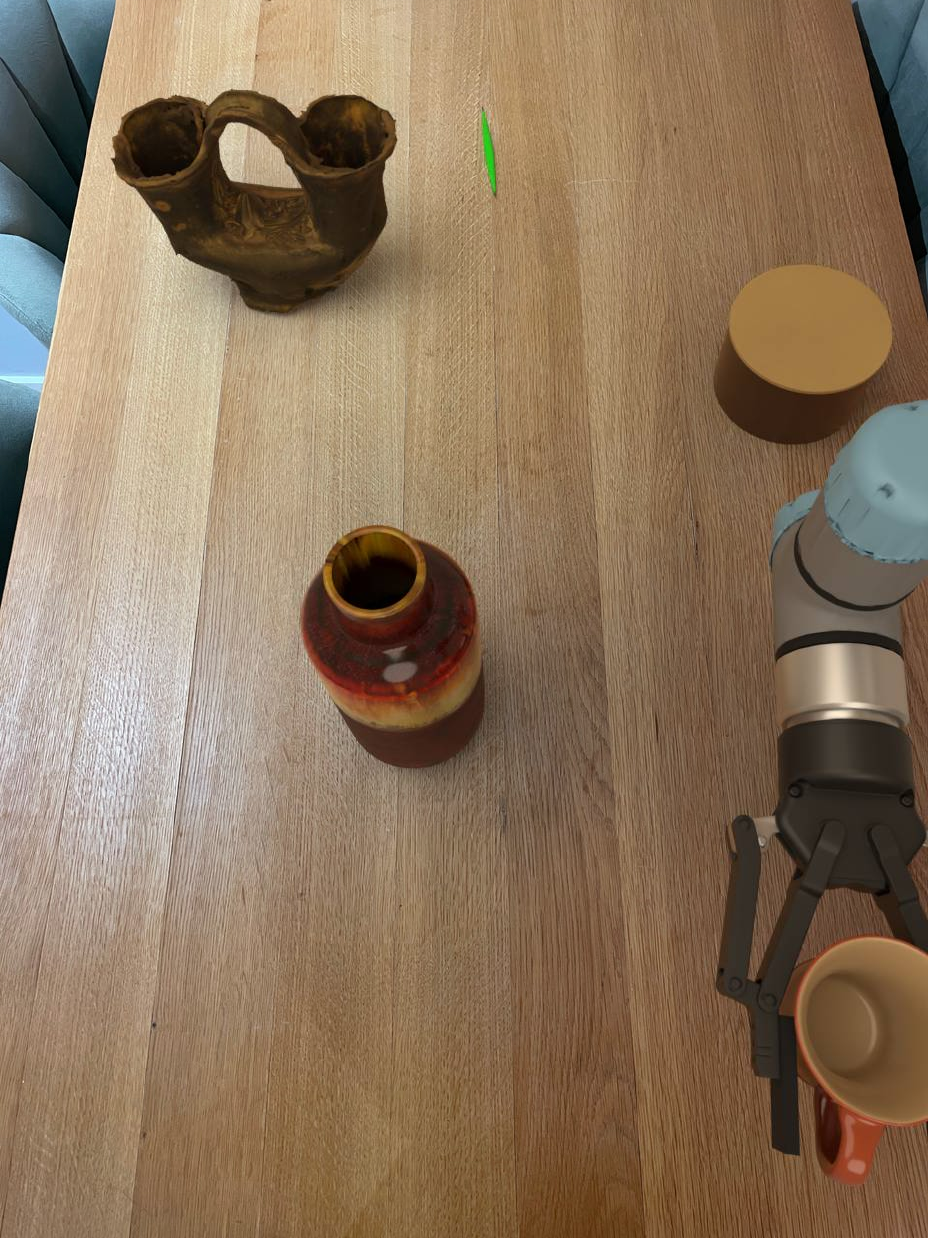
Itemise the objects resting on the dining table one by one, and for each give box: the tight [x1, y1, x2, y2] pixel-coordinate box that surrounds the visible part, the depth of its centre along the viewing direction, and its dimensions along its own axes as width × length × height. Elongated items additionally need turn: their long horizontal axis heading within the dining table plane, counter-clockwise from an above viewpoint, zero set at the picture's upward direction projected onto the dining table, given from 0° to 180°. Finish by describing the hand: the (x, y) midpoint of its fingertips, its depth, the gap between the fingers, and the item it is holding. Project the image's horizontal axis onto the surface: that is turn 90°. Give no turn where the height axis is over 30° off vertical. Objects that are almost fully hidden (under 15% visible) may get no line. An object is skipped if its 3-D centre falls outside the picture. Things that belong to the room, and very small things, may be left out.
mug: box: [779, 934, 928, 1188], centre depth 51 cm, size 12×9×10 cm
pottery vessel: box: [110, 88, 398, 315], centre depth 85 cm, size 25×11×20 cm, turn 87°
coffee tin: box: [713, 263, 893, 445], centre depth 83 cm, size 13×13×8 cm
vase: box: [299, 524, 486, 770], centre depth 64 cm, size 11×11×26 cm
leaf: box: [481, 105, 497, 199], centre depth 100 cm, size 1×14×1 cm, turn 6°
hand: (866, 1160), depth 48 cm, fingers closed on mug, 7 cm apart
